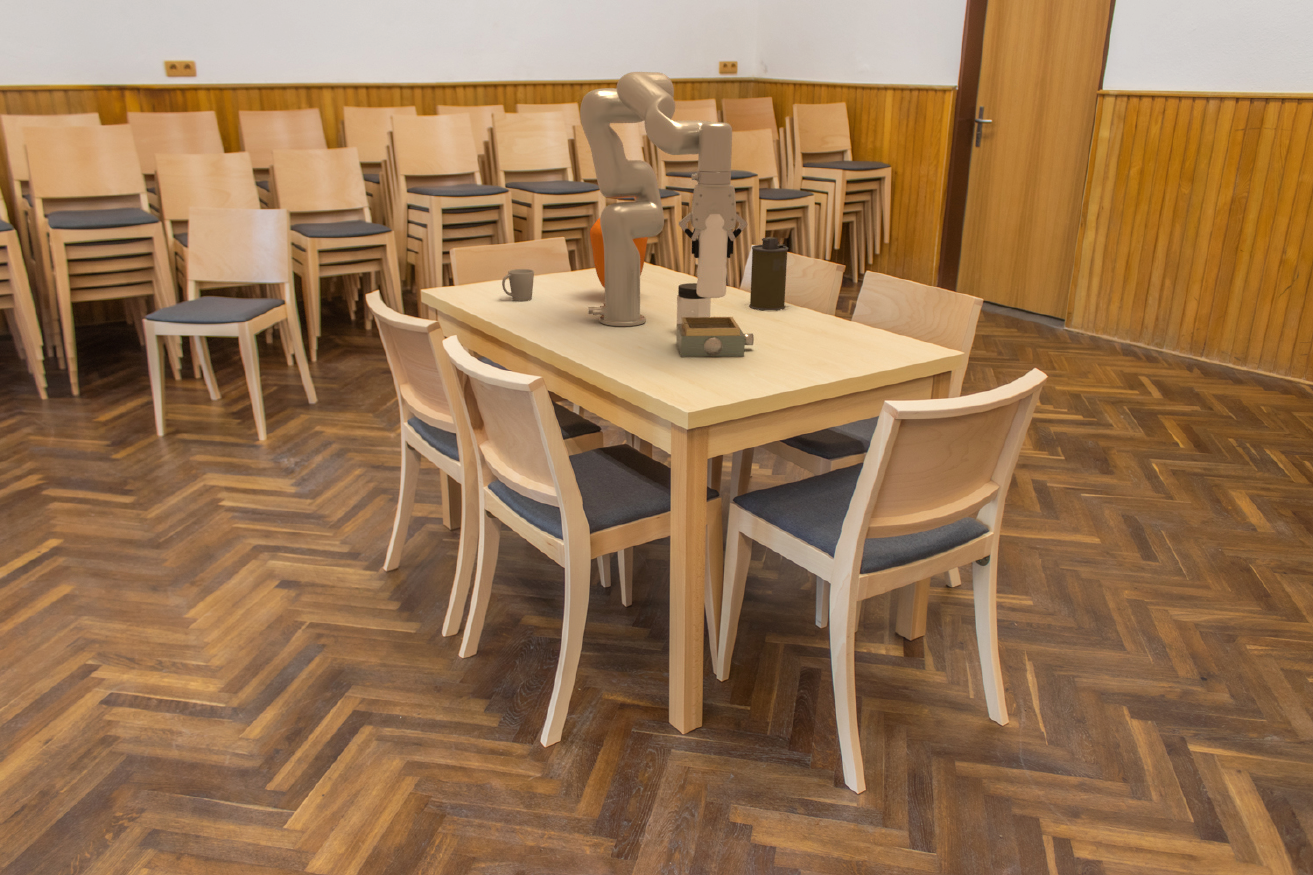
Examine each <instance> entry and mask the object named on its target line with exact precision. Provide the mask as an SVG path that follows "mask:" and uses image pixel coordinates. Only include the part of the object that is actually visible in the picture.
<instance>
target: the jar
mask: <svg viewBox="0 0 1313 875" xmlns="http://www.w3.org/2000/svg"><path fill="white" fill-rule="evenodd" d="M677 292H678V293H677V295H676V296H677V297H676V325H677V324H682V317H711V306H712V305H711V302H712V301H711V300H712V298H704V297H700V296H698V295H697V282H696V283H695V282H691V283H690V282H688V283H682V284H680V285H678V291H677Z"/></svg>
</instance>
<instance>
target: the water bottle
mask: <svg viewBox="0 0 1313 875" xmlns="http://www.w3.org/2000/svg"><path fill="white" fill-rule="evenodd" d="M705 225H706V227H707V229H706V230H700V233H699V235H698V237H697V238H698V241H699V251H698V258H697V268H696V269H697V270H696V278H697V281H696V283H697V295H698V296H700V297H704V298H711V299H720V298H723V297H725V296H726V295H727V272H728V270H727V268H728V267H727V261H728V258H727V245H728V234H727V230H724V229H722V227H723V226H724V219H723V218H722V217H721V215H720V214H710V215H709V217H708V218H707V219H706V221H705Z"/></svg>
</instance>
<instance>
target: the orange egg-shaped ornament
mask: <svg viewBox="0 0 1313 875" xmlns="http://www.w3.org/2000/svg"><path fill="white" fill-rule="evenodd" d="M589 237H590V243H591V248H592V259H593V264H594V268H595V272H596V276H597V279H598V280H599V282H600V285H601V286H602V287H603V288H604V289H605V264H604V242H603V235H602V230H601V225H600V217H599V218H598V219H597V220H596V221H595V222H594V224H593V225H592V226H591V228H590V230H589ZM648 239H649V237H644V238H635V239H633V242H634V244H635V246H636V247H637V249H638V251H639V254H640V277H641V275H642V272H643V269H644V264H645V259H646V254H647V253H646V251H647V245H648Z"/></svg>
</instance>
